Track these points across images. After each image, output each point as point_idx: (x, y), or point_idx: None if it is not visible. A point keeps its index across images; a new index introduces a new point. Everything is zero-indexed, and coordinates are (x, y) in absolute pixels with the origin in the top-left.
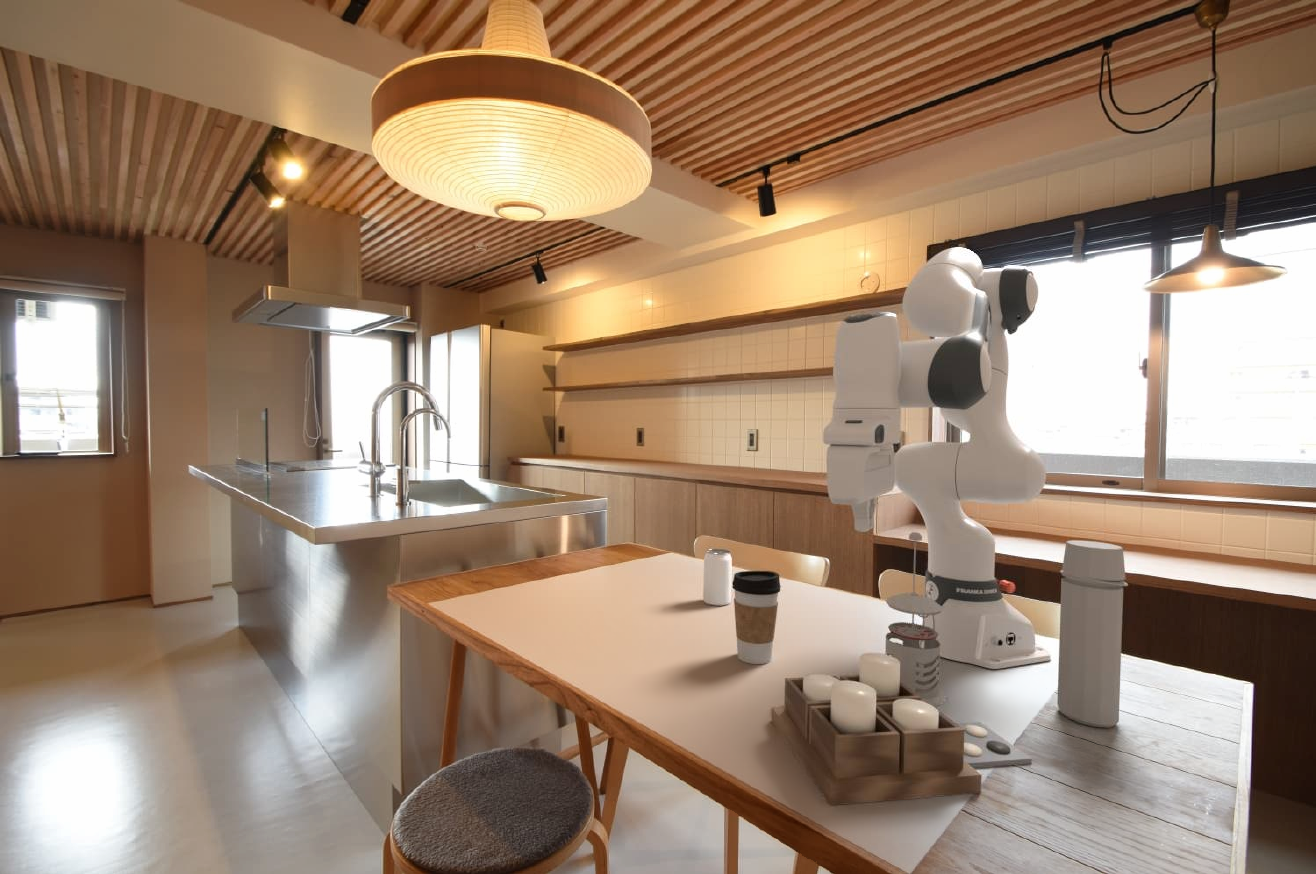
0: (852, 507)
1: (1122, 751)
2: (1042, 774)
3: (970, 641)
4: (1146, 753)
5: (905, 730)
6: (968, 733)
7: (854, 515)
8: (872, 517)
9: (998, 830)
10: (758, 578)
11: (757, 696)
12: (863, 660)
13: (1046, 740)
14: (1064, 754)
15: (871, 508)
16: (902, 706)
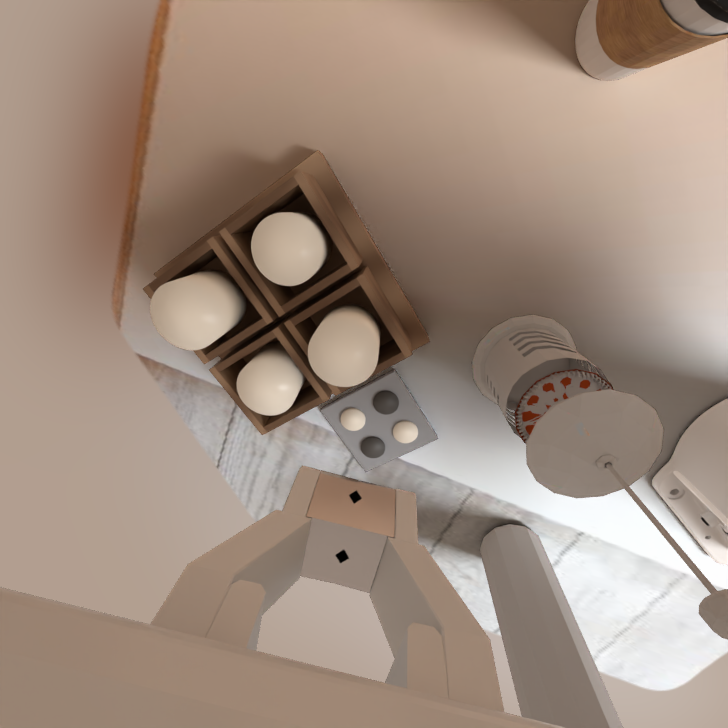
0: (196, 564)
1: (433, 547)
2: (347, 472)
3: (702, 481)
4: (438, 563)
5: (218, 371)
6: (397, 422)
7: (257, 523)
8: (371, 591)
9: (224, 419)
10: None
11: (407, 101)
12: (325, 327)
13: (429, 492)
14: None
15: (397, 643)
16: (262, 373)
